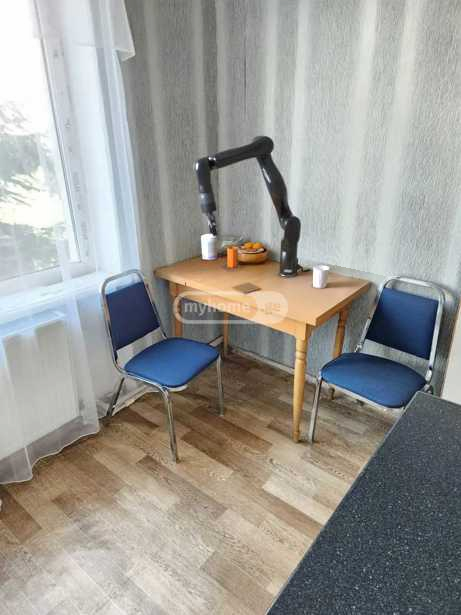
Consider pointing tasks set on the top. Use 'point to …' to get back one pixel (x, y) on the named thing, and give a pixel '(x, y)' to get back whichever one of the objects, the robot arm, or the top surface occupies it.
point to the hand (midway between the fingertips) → (213, 234)
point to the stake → (231, 267)
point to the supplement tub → (209, 246)
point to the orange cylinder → (232, 256)
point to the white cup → (320, 276)
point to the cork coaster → (246, 288)
